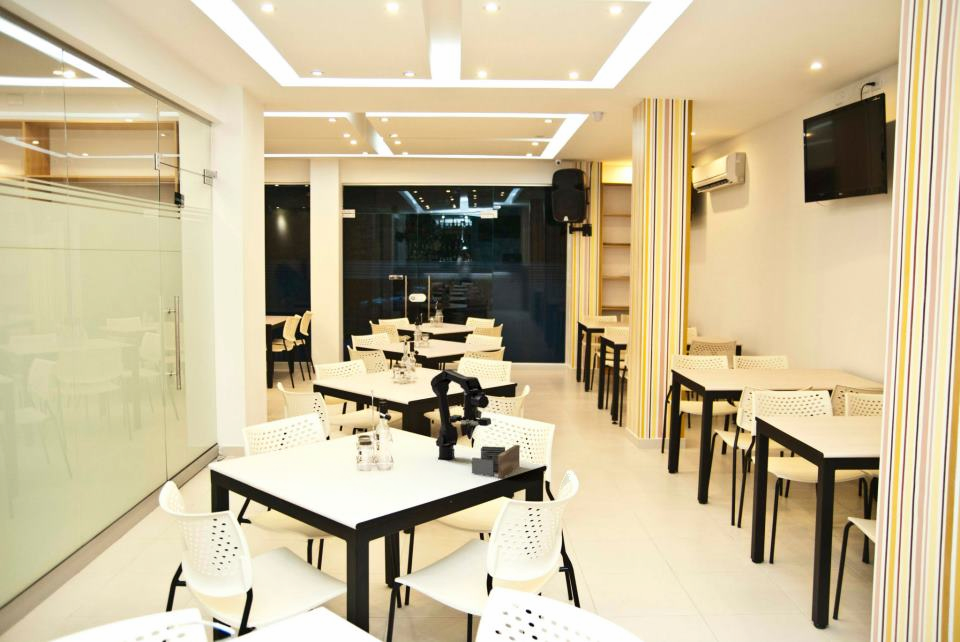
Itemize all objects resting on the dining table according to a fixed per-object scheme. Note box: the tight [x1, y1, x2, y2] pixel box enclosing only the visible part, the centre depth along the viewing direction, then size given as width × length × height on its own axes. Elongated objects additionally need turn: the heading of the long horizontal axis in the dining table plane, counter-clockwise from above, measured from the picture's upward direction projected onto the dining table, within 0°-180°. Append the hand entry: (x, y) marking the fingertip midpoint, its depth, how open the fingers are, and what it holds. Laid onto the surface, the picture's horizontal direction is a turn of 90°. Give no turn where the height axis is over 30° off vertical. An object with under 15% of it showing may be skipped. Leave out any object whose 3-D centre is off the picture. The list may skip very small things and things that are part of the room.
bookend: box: [471, 457, 495, 477], centre depth 304 cm, size 10×1×7 cm, turn 67°
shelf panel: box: [497, 444, 521, 480], centre depth 308 cm, size 2×22×10 cm, turn 158°
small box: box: [480, 446, 506, 472], centre depth 311 cm, size 11×6×10 cm, turn 82°
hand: (469, 439), depth 317 cm, fingers closed
